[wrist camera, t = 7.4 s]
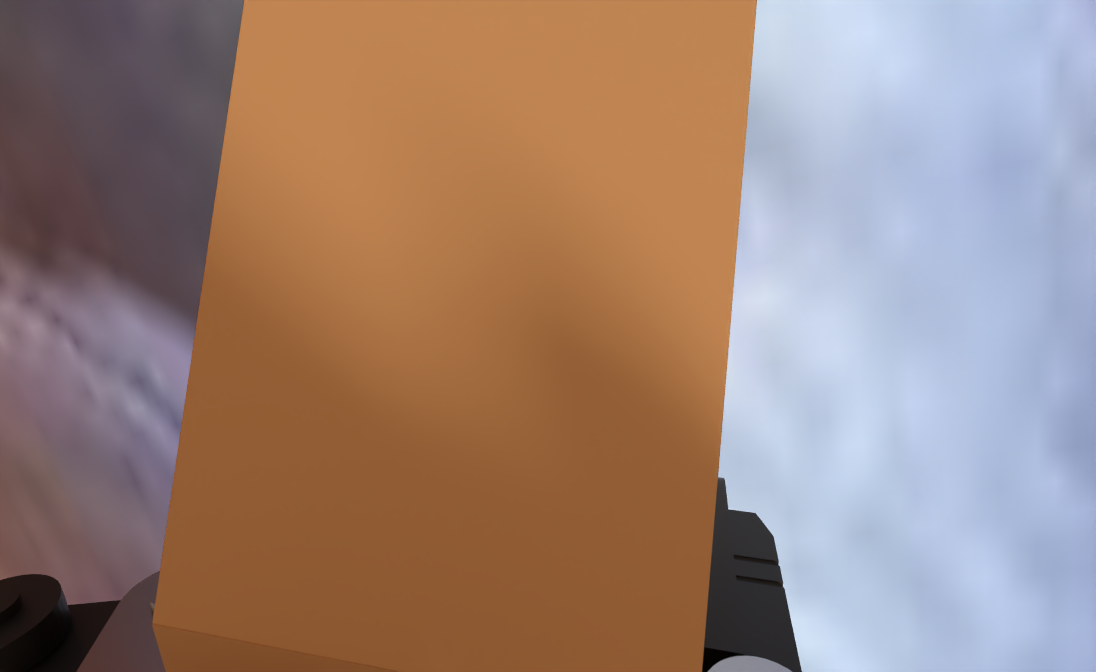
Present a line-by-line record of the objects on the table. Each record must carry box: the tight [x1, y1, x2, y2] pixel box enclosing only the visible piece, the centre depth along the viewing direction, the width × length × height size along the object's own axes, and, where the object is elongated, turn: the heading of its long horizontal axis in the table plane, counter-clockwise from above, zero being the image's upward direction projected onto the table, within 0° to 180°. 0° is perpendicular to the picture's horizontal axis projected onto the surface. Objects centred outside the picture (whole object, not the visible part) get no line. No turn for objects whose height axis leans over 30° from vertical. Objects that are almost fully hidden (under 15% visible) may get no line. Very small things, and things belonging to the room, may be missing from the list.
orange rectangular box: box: [152, 0, 757, 672], centre depth 8 cm, size 11×5×6 cm, turn 179°
